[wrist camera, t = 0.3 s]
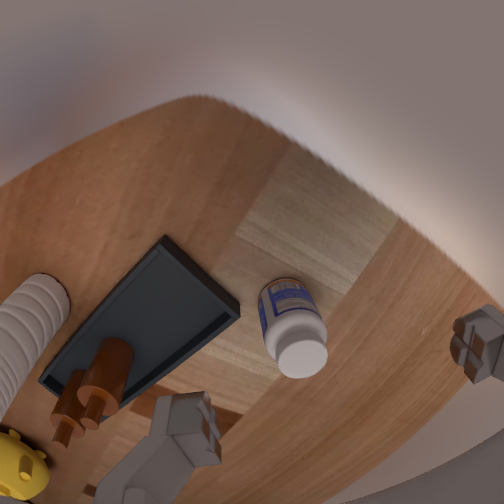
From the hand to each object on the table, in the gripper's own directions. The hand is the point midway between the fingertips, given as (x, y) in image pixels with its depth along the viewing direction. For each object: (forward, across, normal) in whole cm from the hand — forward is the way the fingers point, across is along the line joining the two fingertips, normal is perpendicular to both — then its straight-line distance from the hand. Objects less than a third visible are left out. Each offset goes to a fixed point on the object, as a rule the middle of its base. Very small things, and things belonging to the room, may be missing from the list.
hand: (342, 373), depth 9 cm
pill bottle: (+22, 0, +10) cm, 24 cm away
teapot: (+22, +55, +33) cm, 68 cm away
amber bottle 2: (+21, +20, +12) cm, 31 cm away
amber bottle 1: (+21, +26, +16) cm, 37 cm away
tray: (+22, +19, +11) cm, 31 cm away
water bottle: (+22, +27, +3) cm, 35 cm away
